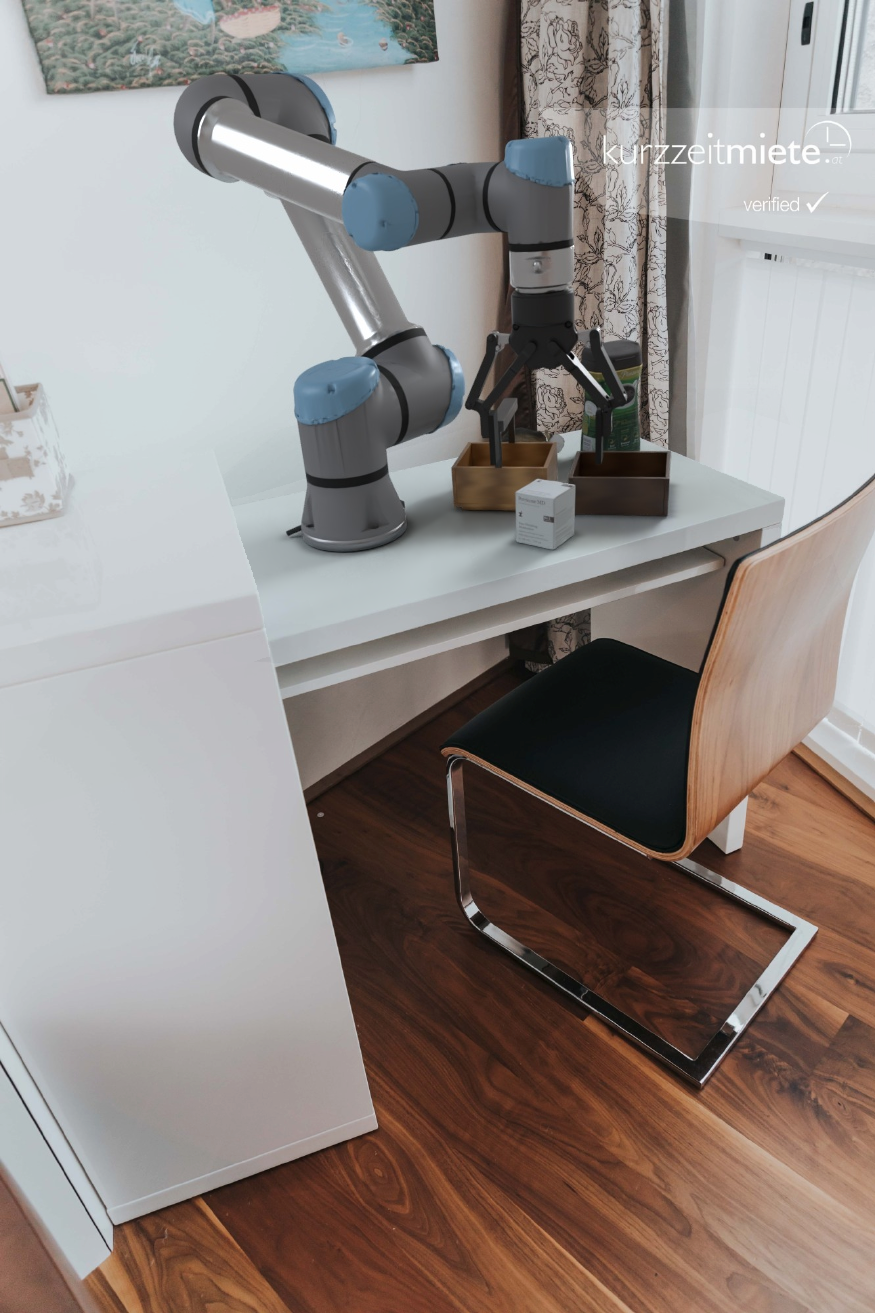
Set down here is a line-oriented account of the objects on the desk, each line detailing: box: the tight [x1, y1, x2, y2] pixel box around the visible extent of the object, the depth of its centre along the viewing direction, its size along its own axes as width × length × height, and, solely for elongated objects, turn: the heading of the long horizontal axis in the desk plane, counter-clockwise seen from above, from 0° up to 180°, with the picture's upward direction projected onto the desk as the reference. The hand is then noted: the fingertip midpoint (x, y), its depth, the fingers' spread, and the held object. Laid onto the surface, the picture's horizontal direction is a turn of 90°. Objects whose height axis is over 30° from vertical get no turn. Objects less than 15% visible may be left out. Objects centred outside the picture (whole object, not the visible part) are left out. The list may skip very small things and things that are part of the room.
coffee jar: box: [579, 338, 643, 451], centre depth 144 cm, size 10×8×19 cm
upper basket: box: [450, 397, 559, 511], centre depth 132 cm, size 14×12×14 cm
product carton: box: [515, 479, 576, 550], centre depth 119 cm, size 6×6×7 cm
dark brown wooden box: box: [567, 450, 672, 517], centre depth 130 cm, size 14×12×6 cm
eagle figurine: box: [501, 426, 566, 454], centre depth 145 cm, size 8×7×9 cm
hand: (546, 461), depth 115 cm, fingers open, 13 cm apart
